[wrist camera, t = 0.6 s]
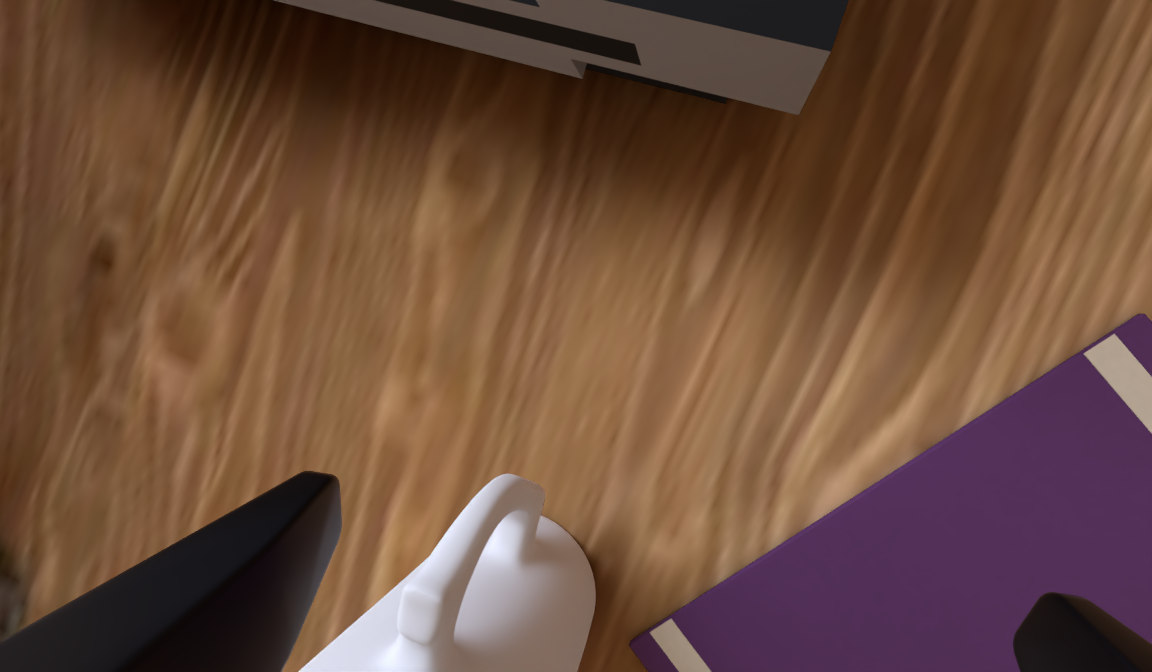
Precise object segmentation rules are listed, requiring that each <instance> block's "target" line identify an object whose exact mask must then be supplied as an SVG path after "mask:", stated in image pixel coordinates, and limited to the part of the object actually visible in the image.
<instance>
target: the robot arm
mask: <svg viewBox="0 0 1152 672" xmlns="http://www.w3.org/2000/svg"><path fill="white" fill-rule="evenodd" d="M341 527H342V517H341V499H340V484H339V481H338V478H337V477H336V476H334V475H332V474H326V473H320V472H314V471H304V472H301V473H299V474H297V475H295V476H294V477H292V478H290V479H288V480H287V481H285V482H283V483H281V484H279V485H278V486H276V487H274V488H272V489H271V490H269V491H267V492H265V493H263V494H262V495H260V496H258V497H256V498H255V499H253V500H251V501H249V502H247V503H246V504H244V505H242V506H240V507H239V508H237V509H235V510H233V511H231V512H230V513H228V514H226V515H224V516H223V517H221V518H219V519H217V520H215V521H214V522H212V523H210V524H208V525H206V526H205V527H203V528H201V529H199V530H198V531H196V532H194V533H192V534H190V535H189V536H187V537H185V538H183V539H182V540H180V541H178V542H176V543H174V544H173V545H171V546H169V547H167V548H166V549H164V550H162V551H160V552H158V553H157V554H155V555H153V556H151V557H150V558H148V559H146V560H144V561H142V562H141V563H139V564H137V565H135V566H134V567H132V568H130V569H128V570H126V571H125V572H123V573H121V574H119V575H117V576H116V577H114V578H112V579H110V580H109V581H107V582H105V583H103V584H101V585H100V586H98V587H96V588H94V589H93V590H91V591H89V592H87V593H85V594H84V595H82V596H80V597H78V598H77V599H75V600H73V601H71V602H69V603H68V604H66V605H64V606H62V607H61V608H59V609H57V610H55V611H53V612H52V613H50V614H48V615H46V616H45V617H43V618H41V619H39V620H37V621H36V622H34V623H32V624H30V625H28V626H27V627H25V628H23V629H21V630H20V631H18V632H16V633H14V634H12V635H11V636H9V637H7V638H5V639H4V640H2V641H0V672H282V670H283V668H284V666H285V664H286V662H287V660H288V658H289V656H290V654H291V652H292V649H293V647H294V645H295V643H296V640H297V638H298V636H299V633H300V631H301V629H302V626H303V624H304V621H305V619H306V617H307V614H308V612H309V610H310V607H311V605H312V602H313V600H314V598H315V595H316V593H317V590H318V588H319V586H320V583H321V581H322V579H323V576H324V574H325V571H326V569H327V567H328V564H329V562H330V560H331V557H332V555H333V552H334V550H335V548H336V545H337V543H338V540H339V537H340V533H341ZM1013 649H1014V654H1015V657H1016V660H1017V663H1018V666H1019V669H1020V672H1152V644H1151V643H1150V642H1148V641H1147V640H1145V639H1144V638H1143V637H1141V636H1140V635H1138V634H1137V633H1135V632H1134V631H1133V630H1131V629H1130V628H1128V627H1127V626H1125V625H1124V624H1123V623H1121V622H1120V621H1118V620H1117V619H1115V618H1114V617H1113V616H1111V615H1110V614H1108V613H1107V612H1106V611H1104V610H1103V609H1101V608H1100V607H1098V606H1097V605H1096V604H1094V603H1093V602H1091V601H1090V600H1088V599H1086V598H1083V597H1080V596H1076V595H1069V594H1063V593H1057V592H1047V593H1045V594H1043V595H1041V596H1040V597H1039V598H1038V600H1037V601H1036V603H1035V604H1034V606H1033V607H1032V609H1031V610H1030V611H1029V613H1028V614H1027V616H1026V617H1025V619H1024V620H1023V622H1022V623H1021V625H1020V626H1019V628H1018V629H1017V630H1016V632H1015V635H1014V638H1013Z"/></svg>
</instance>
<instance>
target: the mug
mask: <svg viewBox="0 0 1152 672" xmlns="http://www.w3.org/2000/svg"><path fill="white" fill-rule="evenodd" d="M544 501H545V491H544V489H543V488H542V487H541V486H540V485H538V484H536V483H534V482H532V481H530V480H527V479H525V478H522V477H519V476H517V475H513V474H504V475H500V476H498V477H496V478H495V479H493V480H492V481H491V482H489V483H488V484H487V485H486V486H485V487H484V488H483V489H482V490H481V491H480V492H479V493H478V494H477V495H476V496H475V497H474V498H473V499H472V500H471V502H470V503H469V504H468V505H467V506H466V508H465V509H464V510H463V511H462V512H461V514H460V515H459V516H458V518H457V519H456V520H455V521H454V523H453V524H452V525H451V527H450V528H449V529H448V531H447V532H446V533H445V535H444V536H443V538H442V539H441V540H440V542H439V543H438V545H437V546H436V548H435V549H434V551H433V552H432V553H431V555H430V556H429V557H428V558H427V559H426V560H425V561H424V562H423V563H421V564H420V565H419V566H418V567H417V568H416V569H415V570H414V571H413V572H411V573H410V574H409V575H408V576H407V577H406V578H405V579H403V580H402V581H401V582H400V583H399V584H398V585H397V586H396V587H394V588H393V589H392V590H391V591H390V592H389V593H388V594H386V595H385V596H384V597H383V598H382V599H381V600H380V601H378V602H377V603H376V604H375V605H374V606H373V607H372V608H370V609H369V610H368V611H367V612H366V613H365V614H364V615H362V616H361V617H360V618H359V619H358V620H357V621H356V622H354V623H353V624H352V625H351V626H350V627H349V628H348V629H346V630H345V631H344V632H343V633H342V634H341V635H340V636H338V637H337V638H336V639H335V640H334V641H333V642H332V643H330V644H329V645H328V646H327V647H326V648H325V649H323V650H322V651H321V652H320V653H319V654H318V655H317V656H315V657H314V658H313V659H312V660H311V661H310V662H309V663H308V664H306V665H305V666H304V667H303V668H302V669H301V670H300V671H299V672H577V671H578V668H579V665H580V662H581V658H582V655H583V652H584V649H585V645H586V641H587V638H588V634H589V631H590V627H591V623H592V620H593V616H594V611H595V604H596V589H595V581H594V577H593V573H592V570H591V567H590V564H589V562H588V560H587V558H586V556H585V554H584V552H583V550H582V549H581V547H580V546H579V545H578V543H577V542H576V541H575V540H574V538H573V537H572V536H571V535H570V534H569V533H568V532H567V531H566V530H564V529H563V528H562V527H561V526H559V525H558V524H556V523H555V522H553V521H552V520H550V519H548V518H546V517H544V516H542V515H541V512H542V509H543V505H544Z"/></svg>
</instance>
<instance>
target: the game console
mask: <svg viewBox="0 0 1152 672" xmlns="http://www.w3.org/2000/svg"><path fill="white" fill-rule="evenodd" d="M274 1H278V2H282V3H286V4H289V5H293V6H297V7H301V8H305V9H309V10H313V11H317V12H321V13H325V14H329V15H333V16H337V17H341V18H345V19H349V20H353V21H357V22H360V23H364V24H368V25H372V26H376V27H380V28H384V29H388V30H392V31H396V32H400V33H404V34H408V35H412V36H416V37H420V38H424V39H428V40H431V41H435V42H439V43H443V44H447V45H451V46H455V47H459V48H463V49H467V50H471V51H475V52H479V53H483V54H487V55H491V56H495V57H499V58H502V59H506V60H510V61H514V62H518V63H522V64H526V65H530V66H534V67H538V68H542V69H546V70H550V71H554V72H558V73H562V74H566V75H570V76H573V77H577V78H581V79H582V78H583V75H584V72H585V69H589V70H593V71H597V72H601V73H605V74H609V75H613V76H617V77H621V78H625V79H629V80H633V81H637V82H641V83H645V84H649V85H653V86H657V87H661V88H665V89H669V90H673V91H677V92H681V93H685V94H689V95H693V96H697V97H701V98H705V99H709V100H713V101H717V102H721V103H726V100H727V98H731V99H735V100H739V101H743V102H747V103H751V104H755V105H759V106H763V107H767V108H771V109H776V110H780V111H784V112H788V113H792V114H796V115H799V113H800V111H801V109H802V107H803V105H804V103H805V102H806V100H807V98H808V96H809V94H810V92H811V90H812V88H813V86H814V84H815V82H816V80H817V78H818V76H819V74H820V72H821V70H822V68H823V66H824V64H825V62H826V60H827V58H828V56H829V54H830V52H831V50H832V47H833V44H834V41H835V38H836V35H837V32H838V30H839V27H840V24H841V21H842V18H843V15H844V12H845V9H846V6H847V4H848V1H849V0H274Z"/></svg>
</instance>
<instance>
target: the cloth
mask: <svg viewBox="0 0 1152 672" xmlns="http://www.w3.org/2000/svg"><path fill="white" fill-rule="evenodd" d="M1047 592H1057V593H1063V594H1069V595H1076V596H1080V597H1083V598H1086V599H1088V600H1090V601H1091V602H1093V603H1094V604H1096V605H1097V606H1098V607H1100V608H1101V609H1103V610H1104V611H1106V612H1107V613H1108V614H1110V615H1111V616H1113V617H1114V618H1115V619H1117V620H1118V621H1120V622H1121V623H1123V624H1124V625H1125V626H1127V627H1128V628H1130V629H1131V630H1133V631H1134V632H1135V633H1137V634H1138V635H1140V636H1141V637H1143V638H1144V639H1145V640H1147V641H1148V642H1150V643H1151V644H1152V321H1151V320H1150V319H1149V318H1148V317H1147V316H1146V315H1145V314H1138V315H1136V316H1134V317H1133V318H1131V319H1130V320H1128V321H1127V322H1125V323H1124V324H1122V325H1120V326H1119V327H1117V328H1116V329H1114V330H1113V331H1111V332H1110V333H1108V334H1107V335H1105V336H1103V337H1102V338H1100V339H1099V340H1097V341H1096V342H1094V343H1093V344H1091V345H1089V346H1088V347H1086V348H1085V349H1083V350H1082V351H1080V352H1079V353H1077V354H1075V355H1074V356H1072V357H1071V358H1069V359H1068V360H1066V361H1065V362H1063V363H1061V364H1060V365H1058V366H1057V367H1055V368H1054V369H1052V370H1051V371H1049V372H1047V373H1046V374H1044V375H1043V376H1041V377H1040V378H1038V379H1037V380H1035V381H1034V382H1032V383H1030V384H1029V385H1027V386H1026V387H1024V388H1023V389H1021V390H1020V391H1018V392H1016V393H1015V394H1013V395H1012V396H1010V397H1009V398H1007V399H1006V400H1004V401H1002V402H1001V403H999V404H998V405H996V406H995V407H993V408H992V409H990V410H988V411H987V412H985V413H984V414H982V415H981V416H979V417H978V418H976V419H974V420H973V421H971V422H970V423H968V424H967V425H965V426H964V427H962V428H961V429H959V430H957V431H956V432H954V433H953V434H951V435H950V436H948V437H947V438H945V439H943V440H942V441H940V442H939V443H937V444H936V445H934V446H933V447H931V448H929V449H928V450H926V451H925V452H923V453H922V454H920V455H919V456H917V457H915V458H914V459H912V460H911V461H909V462H908V463H906V464H905V465H903V466H902V467H900V468H898V469H897V470H895V471H894V472H892V473H891V474H889V475H888V476H886V477H884V478H883V479H881V480H880V481H878V482H877V483H875V484H874V485H872V486H870V487H869V488H867V489H866V490H864V491H863V492H861V493H860V494H858V495H856V496H855V497H853V498H852V499H850V500H849V501H847V502H846V503H844V504H842V505H841V506H839V507H838V508H836V509H835V510H833V511H832V512H830V513H829V514H827V515H825V516H824V517H822V518H821V519H819V520H818V521H816V522H815V523H813V524H811V525H810V526H808V527H807V528H805V529H804V530H802V531H801V532H799V533H797V534H796V535H794V536H793V537H791V538H790V539H788V540H787V541H785V542H783V543H782V544H780V545H779V546H777V547H776V548H774V549H773V550H771V551H769V552H768V553H766V554H765V555H763V556H762V557H760V558H759V559H757V560H756V561H754V562H752V563H751V564H749V565H748V566H746V567H745V568H743V569H742V570H740V571H738V572H737V573H735V574H734V575H732V576H731V577H729V578H728V579H726V580H724V581H723V582H721V583H720V584H718V585H717V586H715V587H714V588H712V589H710V590H709V591H707V592H706V593H704V594H703V595H701V596H700V597H698V598H697V599H695V600H693V601H692V602H690V603H689V604H687V605H686V606H684V607H683V608H681V609H679V610H678V611H676V612H675V613H673V614H672V615H670V616H669V617H667V618H665V619H664V620H662V621H661V622H659V623H658V624H656V625H655V626H653V627H651V628H650V629H648V630H647V631H645V632H644V633H642V634H641V635H639V636H637V637H636V638H634V639H633V640H631V641H630V643H629V646H630V648H631V649H632V650H633V652H634V653H635V654H636V656H637V657H638V658H639V660H640V661H641V662H642V664H643V665H644V666H645V668H646V669H647V670H648V672H1020V669H1019V666H1018V663H1017V660H1016V657H1015V654H1014V649H1013V638H1014V635H1015V632H1016V630H1017V629H1018V628H1019V626H1020V625H1021V623H1022V622H1023V620H1024V619H1025V617H1026V616H1027V614H1028V613H1029V611H1030V610H1031V609H1032V607H1033V606H1034V604H1035V603H1036V601H1037V600H1038V598H1039V597H1040V596H1041V595H1043V594H1045V593H1047Z"/></svg>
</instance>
